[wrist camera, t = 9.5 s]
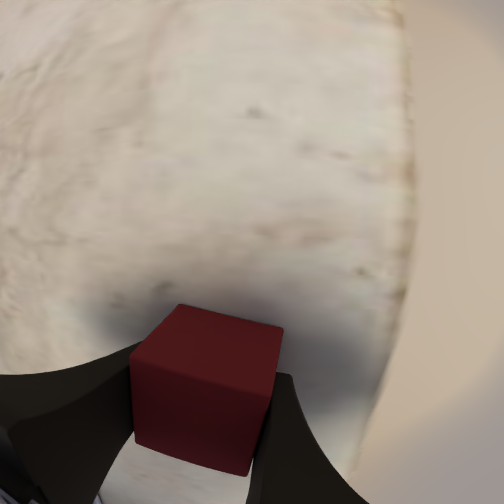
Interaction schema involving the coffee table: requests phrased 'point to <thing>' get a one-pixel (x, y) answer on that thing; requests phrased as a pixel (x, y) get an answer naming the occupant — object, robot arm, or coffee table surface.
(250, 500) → the robot arm
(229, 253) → the coffee table surface
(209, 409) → the block
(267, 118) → the coffee table surface
